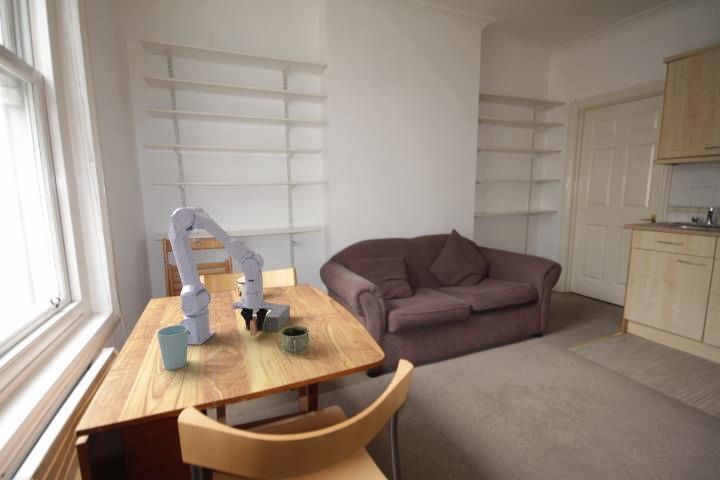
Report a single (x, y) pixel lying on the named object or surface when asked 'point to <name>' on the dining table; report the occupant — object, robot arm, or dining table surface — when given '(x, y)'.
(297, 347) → the vessel
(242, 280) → the teacup with lid
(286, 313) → the dispenser
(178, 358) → the cup
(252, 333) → the cream pillar on pink
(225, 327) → the dining table surface
